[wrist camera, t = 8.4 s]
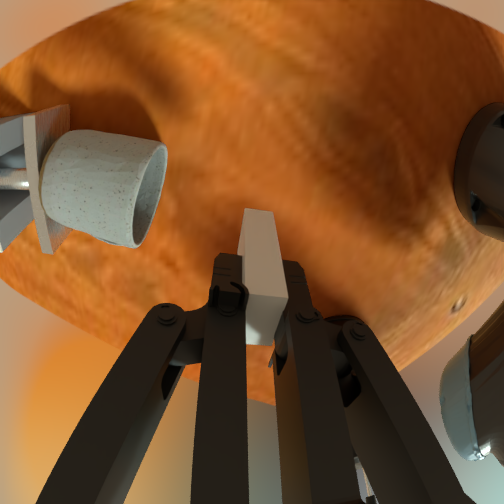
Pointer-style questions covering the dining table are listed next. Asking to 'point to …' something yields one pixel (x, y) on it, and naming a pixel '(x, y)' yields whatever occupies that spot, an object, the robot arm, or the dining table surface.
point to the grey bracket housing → (13, 200)
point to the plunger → (36, 148)
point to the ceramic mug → (103, 184)
